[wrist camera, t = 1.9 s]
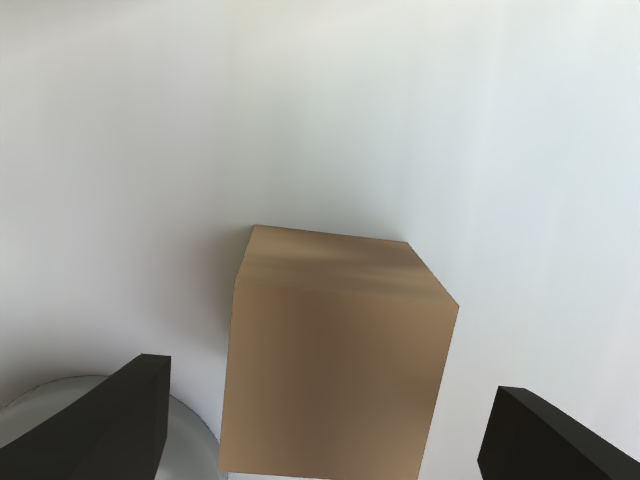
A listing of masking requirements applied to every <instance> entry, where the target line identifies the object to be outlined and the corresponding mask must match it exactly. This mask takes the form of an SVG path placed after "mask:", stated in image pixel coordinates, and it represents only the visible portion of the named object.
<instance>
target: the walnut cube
mask: <svg viewBox="0 0 640 480" xmlns="http://www.w3.org/2000/svg"><path fill="white" fill-rule="evenodd" d="M458 309H459V305H458V304H457V303H456V302H455V300H454V299H453V298H452V297H451V295H450V294H449V293H448V292H447V291H446V289H445V288H444V287H443V286H442V284H441V283H440V282H439V281H438V280H437V278H436V277H435V276H434V275H433V273H432V272H431V271H430V270H429V268H428V267H427V266H426V265H425V264H424V262H423V261H422V260H421V259H420V257H419V256H418V255H417V254H416V253H415V251H414V250H413V249H412V248H411V246H410V245H409V244H408V243H406V242H397V241H389V240H381V239H372V238H364V237H356V236H347V235H339V234H331V233H322V232H314V231H305V230H297V229H289V228H280V227H272V226H264V225H254V228H253V231H252V234H251V236H250V239H249V242H248V245H247V248H246V251H245V253H244V256H243V259H242V262H241V265H240V268H239V270H238V273H237V276H236V279H235V282H234V292H233V303H232V314H231V325H230V336H229V347H228V358H227V369H226V380H225V391H224V402H223V413H222V424H221V435H220V446H219V457H218V468H217V471H219V472H233V473H247V474H261V475H275V476H289V477H303V478H317V479H331V480H417V479H418V475H419V470H420V466H421V462H422V458H423V454H424V450H425V446H426V441H427V437H428V433H429V429H430V425H431V421H432V417H433V413H434V408H435V404H436V400H437V396H438V392H439V388H440V384H441V379H442V375H443V371H444V367H445V363H446V359H447V355H448V351H449V346H450V342H451V338H452V334H453V330H454V326H455V322H456V318H457V313H458Z"/></svg>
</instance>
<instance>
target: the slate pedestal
mask: <svg viewBox="0 0 640 480" xmlns="http://www.w3.org/2000/svg"><path fill="white" fill-rule="evenodd" d="M108 377H109V376H80V377H70V378H65V379H60V380H56V381H52V382H49V383H46V384H43V385H40V386H38V387H36V388H34V389H32V390H30V391H28V392H26V393H24V394H23V395H21V396H20V397H18V398H17V399H15V400H14V401H12V402H11V403H10V404H9V405H8V406H7V407H6V408H4V409H3V410H2V411H1V412H0V448H2V447H4V446H5V445H7V444H9V443H10V442H12V441H14V440H16V439H17V438H19V437H20V436H22V435H24V434H25V433H27V432H28V431H30V430H31V429H33V428H34V427H36V426H38V425H39V424H41V423H42V422H44V421H45V420H47V419H49V418H50V417H52V416H53V415H55V414H56V413H58V412H60V411H61V410H63V409H64V408H66V407H67V406H69V405H70V404H72V403H73V402H75V401H76V400H77V399H79V398H80V397H82V396H83V395H85V394H86V393H87V392H89V391H90V390H92V389H93V388H95V387H96V386H97V385H99V384H100V383H101V382H103V381H104V380H106V379H107V378H108ZM219 446H220V445H219V443H218V441H217V439H216V438H215V436H214V435H213V433H212V432H211V430H210V429H209V428H208V426H207V425H206V424H205V423H204V422H203V421H202V420H201V419H200V417H199V416H198V415H196V414H195V413H194V412H193V411H192V410H191V409H189V408H188V407H187V406H186V405H184V404H183V403H181V402H180V401H178V400H177V399H175V398H174V397H172V396H170V395H169V411H168V431H167V440H166V443H165V446H164V450H163V453H162V457H161V460H160V463H159V467H158V470H157V473H156V476H155V479H154V480H228V472H219V471H217V468H218V457H219Z"/></svg>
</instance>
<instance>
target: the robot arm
mask: <svg viewBox="0 0 640 480" xmlns="http://www.w3.org/2000/svg"><path fill="white" fill-rule="evenodd" d="M170 371H171V356H163V355H152V354H140V355H139V356H137V357H136V358H134V359H133V360H132V361H130V362H129V363H128V364H126V365H125V366H123V367H122V368H121V369H119V370H118V371H117V372H115V373H114V374H112V375H111V376H110V377H108V378H107V379H106V380H104V381H103V382H101V383H100V384H99V385H97V386H96V387H95V388H93V389H92V390H90V391H89V392H87V393H86V394H85V395H83V396H82V397H80V398H79V399H77V400H76V401H75V402H73V403H72V404H70V405H69V406H67V407H66V408H64V409H63V410H61V411H60V412H58V413H56V414H55V415H53V416H52V417H50V418H49V419H47V420H45V421H44V422H42V423H41V424H39V425H38V426H36V427H34V428H33V429H31V430H30V431H28V432H27V433H25V434H24V435H22V436H20V437H19V438H17V439H16V440H14V441H12V442H10V443H9V444H7V445H5V446H4V447H2V448H0V480H154V479H155V476H156V473H157V470H158V467H159V463H160V460H161V457H162V453H163V450H164V446H165V443H166V440H167V431H168V411H169V391H170ZM477 462H478V465H479V468H480V471H481V475H482V478H483V480H640V463H639V462H638V461H636V460H634V459H633V458H631V457H630V456H628V455H627V454H625V453H624V452H622V451H621V450H619V449H618V448H616V447H615V446H613V445H612V444H610V443H609V442H607V441H606V440H604V439H603V438H601V437H600V436H598V435H597V434H595V433H594V432H592V431H591V430H589V429H588V428H586V427H585V426H583V425H582V424H580V423H579V422H577V421H576V420H575V419H573V418H572V417H570V416H569V415H567V414H566V413H564V412H563V411H561V410H560V409H558V408H557V407H555V406H553V405H552V404H550V403H549V402H547V401H546V400H544V399H542V398H541V397H539V396H538V395H536V394H534V393H532V392H530V391H529V390H527V389H525V388H516V387H505V386H498V389H497V393H496V396H495V400H494V403H493V407H492V410H491V414H490V417H489V421H488V424H487V428H486V431H485V435H484V438H483V442H482V445H481V449H480V452H479V456H478V459H477Z"/></svg>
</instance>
